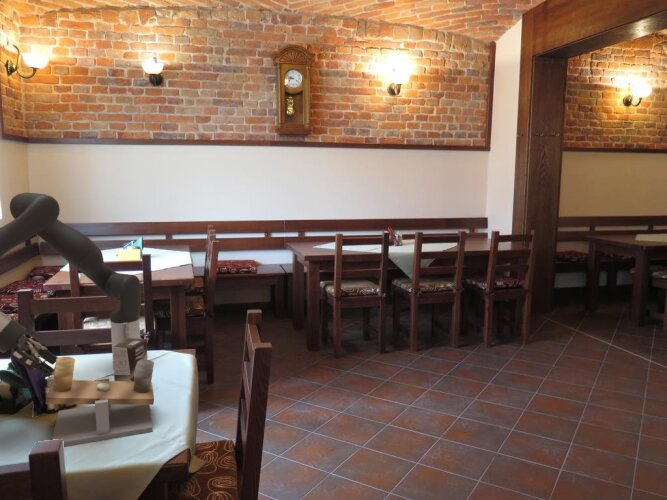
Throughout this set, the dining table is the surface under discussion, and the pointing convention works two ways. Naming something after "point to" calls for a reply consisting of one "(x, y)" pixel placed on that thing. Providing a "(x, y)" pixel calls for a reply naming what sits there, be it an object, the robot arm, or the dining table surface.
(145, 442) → the dining table surface
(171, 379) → the dining table surface
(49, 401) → the plate
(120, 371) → the coffee box
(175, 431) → the dining table surface
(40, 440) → the dining table surface
